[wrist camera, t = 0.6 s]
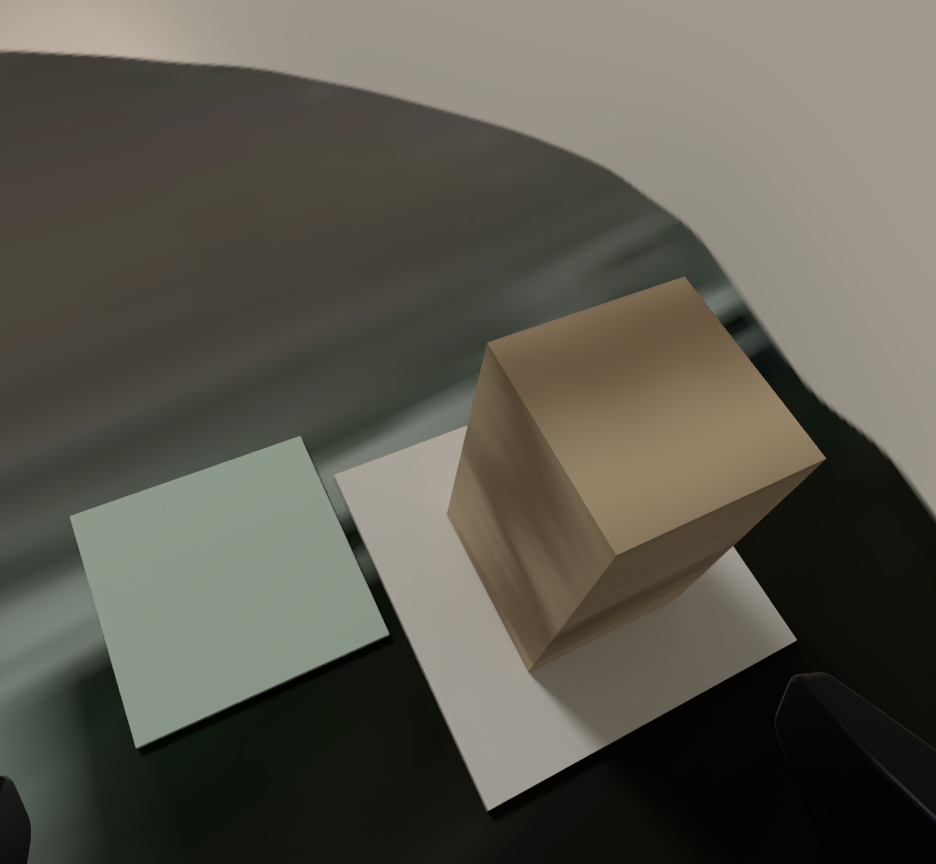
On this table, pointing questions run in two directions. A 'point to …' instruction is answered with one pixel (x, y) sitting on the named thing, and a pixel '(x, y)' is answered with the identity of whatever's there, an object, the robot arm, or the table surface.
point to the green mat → (222, 587)
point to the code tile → (495, 656)
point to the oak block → (616, 464)
